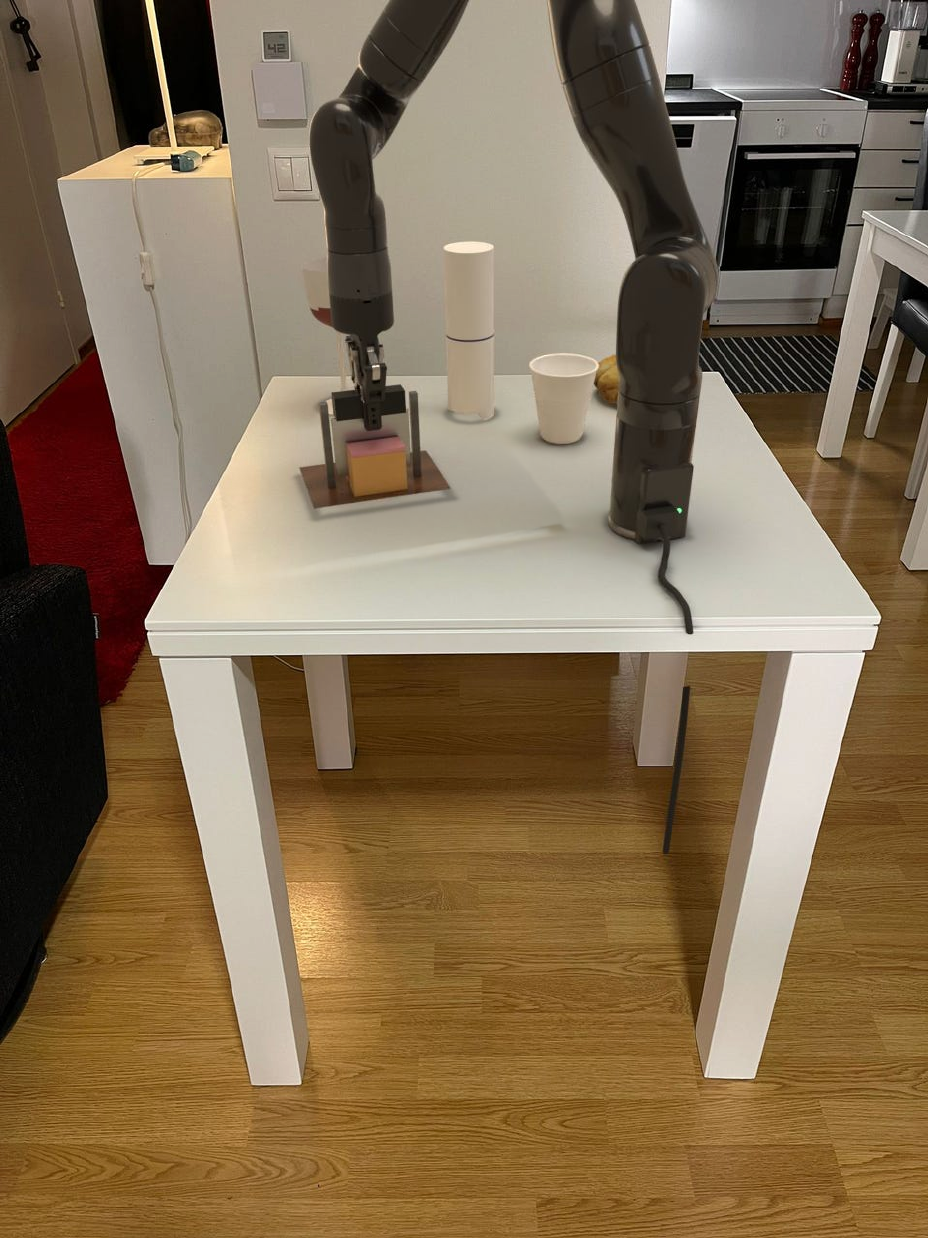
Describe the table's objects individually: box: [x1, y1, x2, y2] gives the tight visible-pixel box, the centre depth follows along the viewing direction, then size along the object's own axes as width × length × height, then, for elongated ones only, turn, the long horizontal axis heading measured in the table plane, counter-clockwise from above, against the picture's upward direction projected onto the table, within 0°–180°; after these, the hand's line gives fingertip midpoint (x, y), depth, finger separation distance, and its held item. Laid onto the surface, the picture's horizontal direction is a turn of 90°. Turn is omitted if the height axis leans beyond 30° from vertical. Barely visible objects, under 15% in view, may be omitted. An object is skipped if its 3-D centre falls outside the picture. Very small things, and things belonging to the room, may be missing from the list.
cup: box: [528, 352, 599, 445], centre depth 140 cm, size 10×10×11 cm
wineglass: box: [300, 256, 348, 416], centre depth 149 cm, size 9×10×22 cm
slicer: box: [298, 390, 452, 509], centre depth 126 cm, size 13×18×13 cm
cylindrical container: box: [443, 241, 495, 422], centre depth 145 cm, size 7×7×25 cm
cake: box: [346, 437, 407, 497], centre depth 128 cm, size 10×7×6 cm
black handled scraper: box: [330, 383, 411, 477], centre depth 125 cm, size 2×10×11 cm, turn 106°
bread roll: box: [593, 354, 619, 404], centre depth 153 cm, size 13×10×8 cm
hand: (370, 424), depth 124 cm, fingers closed on black handled scraper, 2 cm apart
